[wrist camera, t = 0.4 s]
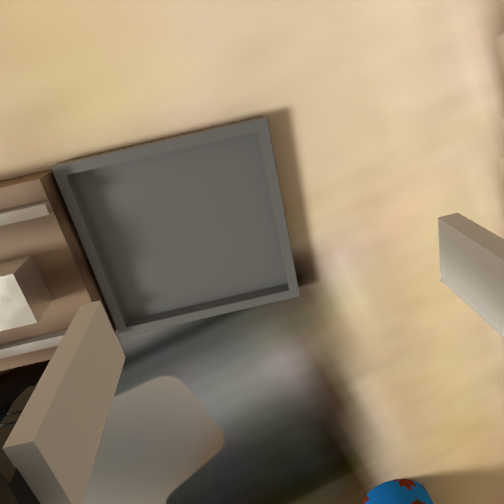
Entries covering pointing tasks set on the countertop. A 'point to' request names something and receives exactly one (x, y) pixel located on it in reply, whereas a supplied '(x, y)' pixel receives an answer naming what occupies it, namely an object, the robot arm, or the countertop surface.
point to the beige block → (21, 293)
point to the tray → (183, 225)
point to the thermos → (398, 493)
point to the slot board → (44, 264)
